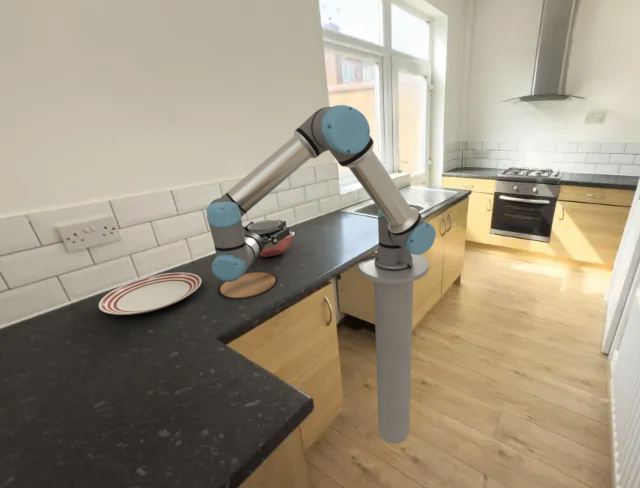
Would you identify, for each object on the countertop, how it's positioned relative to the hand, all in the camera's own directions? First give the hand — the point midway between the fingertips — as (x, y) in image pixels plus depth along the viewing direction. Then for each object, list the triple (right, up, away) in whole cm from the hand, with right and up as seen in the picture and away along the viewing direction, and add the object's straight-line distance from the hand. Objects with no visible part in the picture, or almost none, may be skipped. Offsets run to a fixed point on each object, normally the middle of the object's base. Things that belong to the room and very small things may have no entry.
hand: (269, 224), depth 114 cm
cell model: (-7, -10, +22) cm, 25 cm away
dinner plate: (-33, -25, -10) cm, 43 cm away
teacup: (+1, -7, -1) cm, 7 cm away
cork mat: (-6, -21, -3) cm, 22 cm away
